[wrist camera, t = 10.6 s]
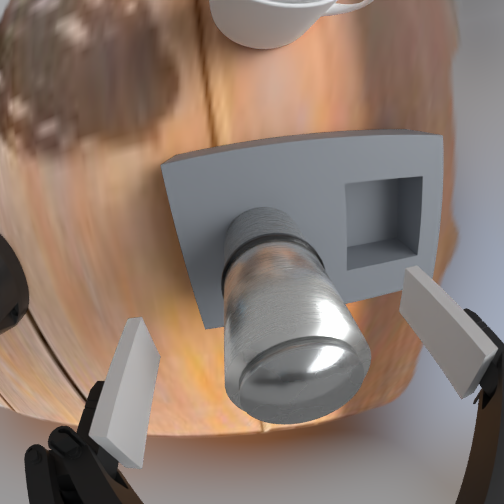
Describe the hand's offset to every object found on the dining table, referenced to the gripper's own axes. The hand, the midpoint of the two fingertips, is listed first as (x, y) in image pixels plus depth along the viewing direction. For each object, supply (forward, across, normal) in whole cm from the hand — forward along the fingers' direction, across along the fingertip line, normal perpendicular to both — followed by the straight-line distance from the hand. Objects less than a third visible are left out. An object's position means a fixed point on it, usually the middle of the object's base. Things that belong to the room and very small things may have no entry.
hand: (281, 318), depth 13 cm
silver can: (+9, 0, 0) cm, 9 cm away
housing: (+15, +5, 0) cm, 16 cm away
